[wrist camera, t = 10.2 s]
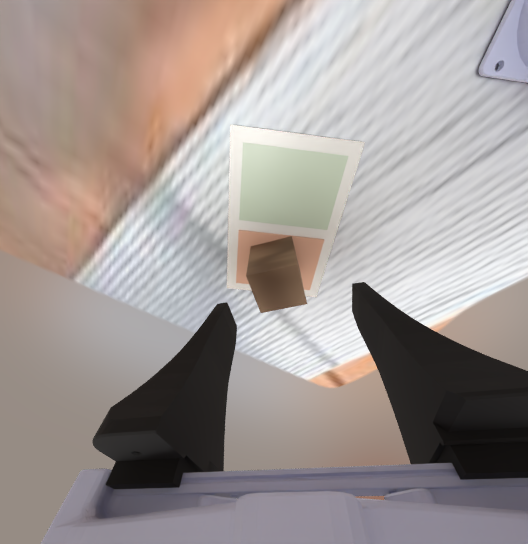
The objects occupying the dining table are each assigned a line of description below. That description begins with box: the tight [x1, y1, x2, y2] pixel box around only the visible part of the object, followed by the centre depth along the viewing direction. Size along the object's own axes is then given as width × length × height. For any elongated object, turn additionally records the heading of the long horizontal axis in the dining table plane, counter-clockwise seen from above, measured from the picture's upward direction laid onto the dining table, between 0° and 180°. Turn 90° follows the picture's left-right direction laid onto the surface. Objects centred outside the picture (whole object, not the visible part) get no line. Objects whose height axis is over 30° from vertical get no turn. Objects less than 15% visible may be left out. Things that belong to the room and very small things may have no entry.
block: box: [246, 236, 307, 313], centre depth 20 cm, size 4×4×5 cm
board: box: [227, 125, 365, 297], centre depth 20 cm, size 10×15×1 cm, turn 174°
